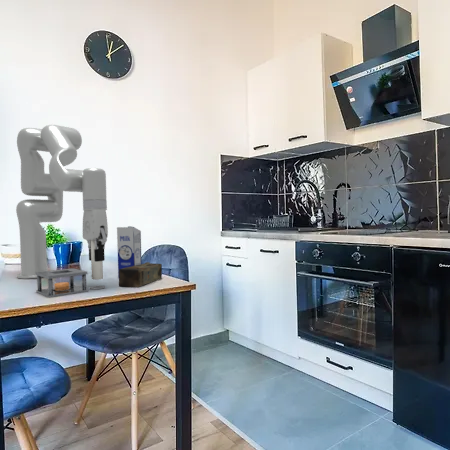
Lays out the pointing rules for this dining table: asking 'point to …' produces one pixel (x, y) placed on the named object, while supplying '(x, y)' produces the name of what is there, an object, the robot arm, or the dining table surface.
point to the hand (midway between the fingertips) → (96, 260)
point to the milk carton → (128, 247)
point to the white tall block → (96, 264)
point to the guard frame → (58, 274)
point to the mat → (96, 287)
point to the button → (61, 286)
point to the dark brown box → (139, 274)
